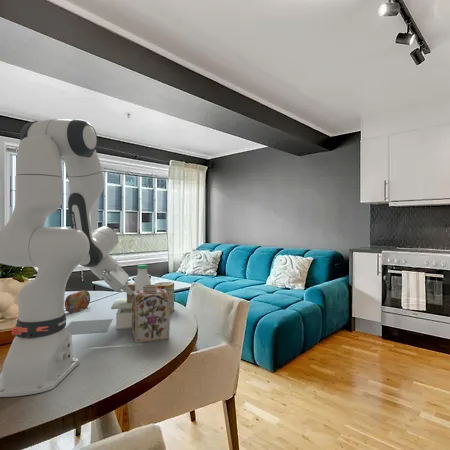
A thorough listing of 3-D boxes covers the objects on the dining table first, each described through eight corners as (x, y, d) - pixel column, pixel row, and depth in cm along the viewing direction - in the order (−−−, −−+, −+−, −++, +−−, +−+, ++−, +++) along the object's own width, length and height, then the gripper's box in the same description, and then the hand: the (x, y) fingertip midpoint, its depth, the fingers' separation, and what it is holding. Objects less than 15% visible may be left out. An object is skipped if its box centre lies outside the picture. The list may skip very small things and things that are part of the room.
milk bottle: (147, 309, 147) (146, 266, 147) (131, 309, 148) (131, 266, 148) (153, 305, 155) (153, 264, 154) (138, 304, 156) (138, 263, 156)
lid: (147, 307, 120) (147, 286, 120) (111, 309, 118) (111, 288, 118) (148, 298, 133) (148, 280, 133) (116, 300, 131) (116, 281, 130)
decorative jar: (134, 344, 105) (134, 289, 105) (131, 332, 116) (131, 283, 116) (170, 339, 110) (170, 287, 110) (164, 328, 121) (163, 281, 121)
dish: (143, 328, 121) (143, 312, 121) (116, 329, 119) (116, 313, 119) (145, 320, 131) (144, 305, 131) (119, 321, 129) (119, 307, 129)
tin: (69, 315, 139) (69, 295, 139) (63, 314, 140) (63, 295, 140) (90, 306, 154) (90, 288, 154) (85, 305, 154) (84, 288, 154)
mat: (106, 333, 116) (106, 332, 116) (58, 336, 113) (58, 335, 113) (112, 320, 132) (112, 319, 132) (71, 322, 128) (71, 321, 128)
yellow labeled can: (150, 312, 143) (150, 285, 143) (159, 306, 152) (159, 281, 152) (169, 313, 141) (169, 286, 141) (177, 308, 150) (177, 282, 150)
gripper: (108, 266, 114) (136, 292, 116) (116, 259, 134) (140, 281, 136) (94, 279, 113) (123, 305, 115) (104, 270, 133) (129, 292, 135)
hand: (132, 292), depth 126 cm, fingers closed on lid, 3 cm apart
